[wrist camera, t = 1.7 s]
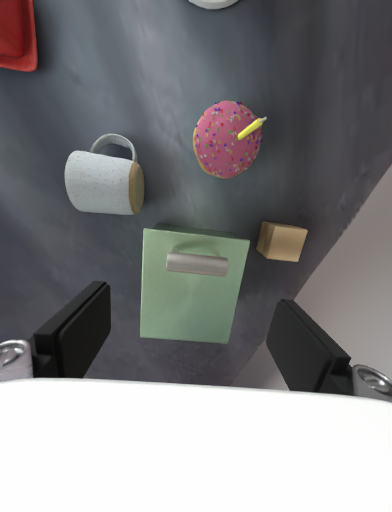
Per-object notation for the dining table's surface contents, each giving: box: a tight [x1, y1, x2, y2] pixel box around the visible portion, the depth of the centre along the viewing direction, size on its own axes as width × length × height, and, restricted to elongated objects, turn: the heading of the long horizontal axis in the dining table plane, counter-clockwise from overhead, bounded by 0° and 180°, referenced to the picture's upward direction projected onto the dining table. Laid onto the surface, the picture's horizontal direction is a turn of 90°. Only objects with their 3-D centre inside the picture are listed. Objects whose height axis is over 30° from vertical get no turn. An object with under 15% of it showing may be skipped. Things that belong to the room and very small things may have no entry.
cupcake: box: [193, 100, 267, 179], centre depth 22 cm, size 9×8×12 cm
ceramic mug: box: [65, 134, 144, 215], centre depth 25 cm, size 11×8×8 cm
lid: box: [140, 228, 250, 343], centre depth 22 cm, size 16×13×6 cm
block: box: [256, 222, 308, 262], centre depth 30 cm, size 5×5×5 cm
